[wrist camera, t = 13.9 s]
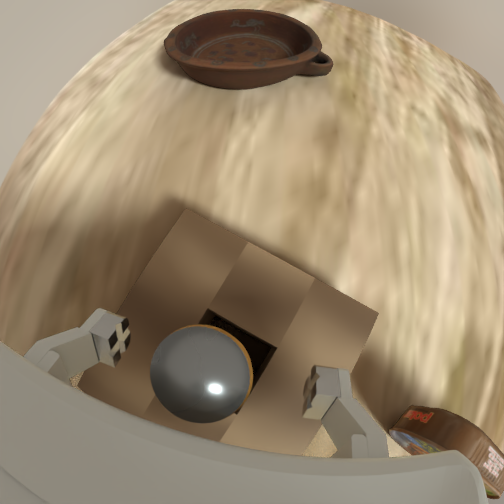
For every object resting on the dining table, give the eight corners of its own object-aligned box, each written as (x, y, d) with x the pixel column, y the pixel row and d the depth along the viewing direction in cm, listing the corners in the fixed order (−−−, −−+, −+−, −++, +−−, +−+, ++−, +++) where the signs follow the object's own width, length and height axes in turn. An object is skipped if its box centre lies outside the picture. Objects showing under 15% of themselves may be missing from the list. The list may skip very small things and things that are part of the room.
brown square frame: (263, 477, 16) (266, 501, 12) (103, 381, 18) (77, 385, 14) (356, 319, 20) (378, 312, 16) (195, 231, 22) (186, 207, 18)
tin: (371, 422, 17) (432, 451, 9) (397, 391, 18) (465, 404, 10) (453, 487, 14) (504, 510, 6) (472, 462, 15) (526, 478, 7)
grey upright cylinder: (234, 388, 18) (219, 444, 7) (195, 365, 19) (129, 387, 7) (257, 351, 19) (273, 357, 8) (218, 328, 20) (180, 303, 8)
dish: (318, 125, 26) (328, 89, 22) (132, 93, 28) (121, 62, 23) (335, 52, 32) (342, 25, 27) (193, 29, 34) (190, 4, 29)
